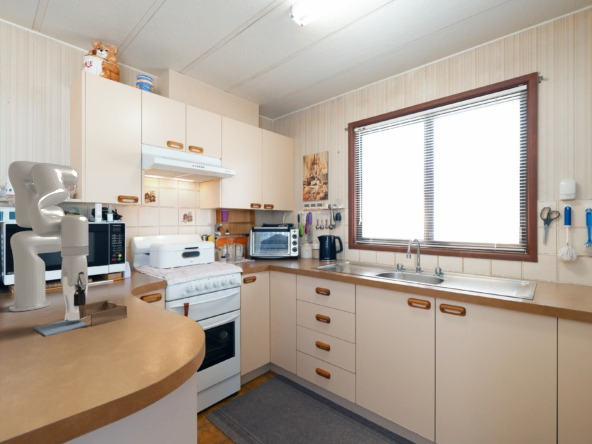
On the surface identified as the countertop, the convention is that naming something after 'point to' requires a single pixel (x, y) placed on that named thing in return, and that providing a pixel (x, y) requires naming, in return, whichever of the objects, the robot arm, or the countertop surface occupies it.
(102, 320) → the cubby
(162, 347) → the countertop surface
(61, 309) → the countertop surface
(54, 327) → the mat
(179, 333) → the countertop surface
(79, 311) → the beer glass
